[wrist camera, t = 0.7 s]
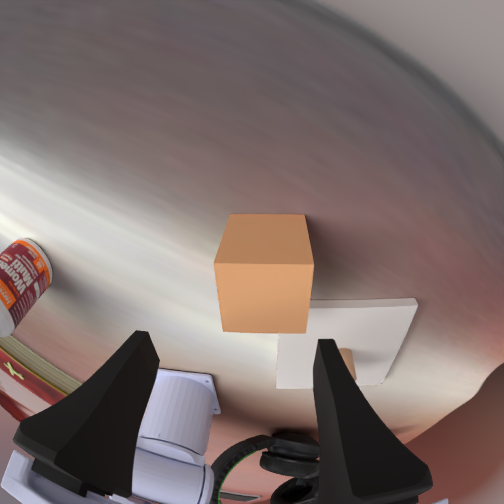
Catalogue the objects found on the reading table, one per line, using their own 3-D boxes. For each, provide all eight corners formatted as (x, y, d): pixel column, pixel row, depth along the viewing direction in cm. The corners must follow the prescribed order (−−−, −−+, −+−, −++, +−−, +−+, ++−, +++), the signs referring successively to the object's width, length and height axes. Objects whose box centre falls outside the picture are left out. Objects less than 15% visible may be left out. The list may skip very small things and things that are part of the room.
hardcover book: (87, 406, 43) (80, 424, 39) (2, 349, 38) (-7, 364, 34) (93, 386, 37) (84, 407, 33) (-6, 317, 32) (-19, 333, 29)
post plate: (380, 376, 29) (386, 405, 25) (276, 381, 30) (275, 412, 26) (414, 297, 22) (430, 330, 19) (280, 300, 23) (279, 336, 20)
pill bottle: (56, 254, 23) (-14, 336, 13) (53, 294, 26) (-1, 370, 16) (15, 225, 22) (-58, 293, 12) (15, 267, 25) (-42, 332, 15)
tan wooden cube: (300, 275, 22) (305, 333, 17) (234, 274, 22) (222, 331, 17) (304, 214, 19) (313, 264, 14) (230, 214, 20) (213, 263, 15)
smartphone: (183, 480, 69) (182, 484, 67) (261, 494, 72) (261, 498, 71) (177, 484, 76) (176, 488, 74) (248, 498, 79) (247, 502, 77)
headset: (338, 401, 47) (183, 447, 33) (396, 396, 36) (216, 472, 22) (351, 479, 40) (211, 539, 26) (407, 486, 30) (251, 579, 15)
